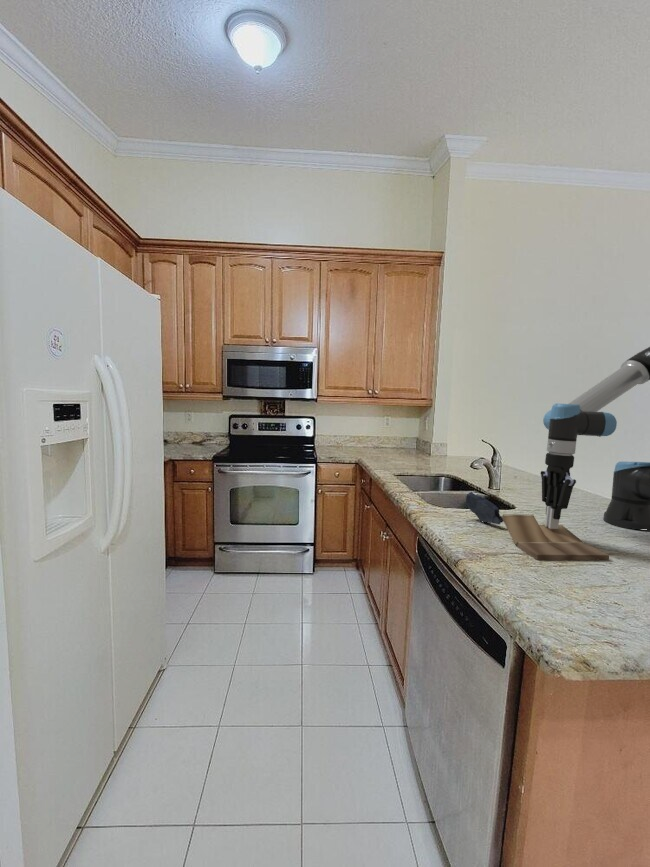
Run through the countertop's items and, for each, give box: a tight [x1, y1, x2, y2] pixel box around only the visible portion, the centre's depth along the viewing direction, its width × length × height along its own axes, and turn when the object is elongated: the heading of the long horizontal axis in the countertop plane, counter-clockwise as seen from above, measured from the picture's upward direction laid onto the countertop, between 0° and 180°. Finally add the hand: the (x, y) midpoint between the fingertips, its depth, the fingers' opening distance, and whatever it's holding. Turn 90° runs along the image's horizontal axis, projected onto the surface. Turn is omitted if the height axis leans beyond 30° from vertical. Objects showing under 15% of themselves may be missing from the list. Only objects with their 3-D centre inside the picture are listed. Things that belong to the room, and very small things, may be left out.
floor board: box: [516, 541, 610, 561], centre depth 108 cm, size 21×9×2 cm, turn 95°
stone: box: [465, 491, 504, 525], centre depth 133 cm, size 14×6×10 cm, turn 50°
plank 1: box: [501, 513, 548, 546], centre depth 117 cm, size 10×10×2 cm
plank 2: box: [538, 523, 584, 542], centre depth 119 cm, size 10×10×2 cm
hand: (551, 527), depth 121 cm, fingers closed
